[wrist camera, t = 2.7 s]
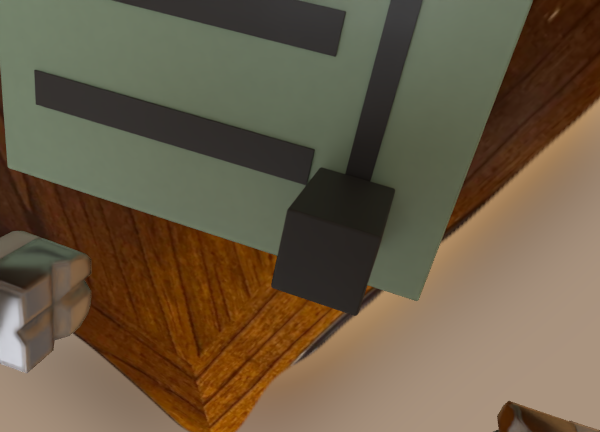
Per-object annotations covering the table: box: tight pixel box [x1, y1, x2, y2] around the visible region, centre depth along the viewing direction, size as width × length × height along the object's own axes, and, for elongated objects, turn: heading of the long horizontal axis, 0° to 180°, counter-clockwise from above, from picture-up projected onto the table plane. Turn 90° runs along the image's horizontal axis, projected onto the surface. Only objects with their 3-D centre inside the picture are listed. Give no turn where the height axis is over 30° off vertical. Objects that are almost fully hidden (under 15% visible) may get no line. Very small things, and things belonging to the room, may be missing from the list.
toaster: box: [0, 0, 533, 301], centre depth 21 cm, size 16×11×15 cm
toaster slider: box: [271, 167, 395, 316], centre depth 14 cm, size 2×2×4 cm
